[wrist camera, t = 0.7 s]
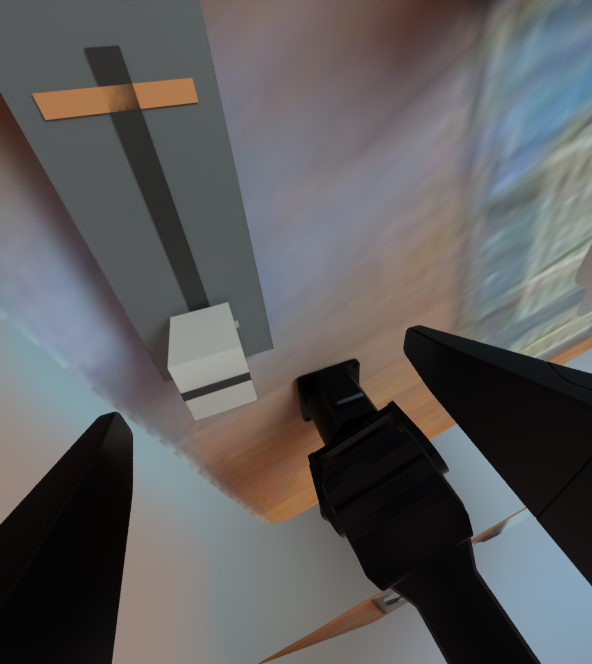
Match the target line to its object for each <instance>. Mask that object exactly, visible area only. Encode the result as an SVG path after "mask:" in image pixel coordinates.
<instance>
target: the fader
mask: <svg viewBox="0 0 592 664" xmlns="http://www.w3.org/2000/svg"><path fill="white" fill-rule="evenodd" d="M167 369H168V370H169V372H170V374H171V376H172V378H173V380H174V381H175V383H176V385H177V387H178V389H179V391H180V393H181V396H182V398H183V400H184V401H185V402H186V404H187V406H188V407H189V409H190V411H191V413H192V415H193V417H194V419H195V420H196V421H197V420H200V419H203V418H206V417H209V416H212V415H215V414H218V413H221V412H224V411H227V410H230V409H232V408H235V407H238V406H241V405H244V404H247V403H250V402H253V401H256V400H257V396H256V393H255V390H254V386H253V383H252V380H251V376H250V373H249V370H248V366H247V363H246V360H245V356H244V353H243V350H242V346H241V343H240V340H239V336H238V333H237V330H236V326H235V323H234V320H233V316H232V313H231V310H230V306H229V303H228V302H227V303H223V304H220V305H216V306H212V307H208V308H205V309H201V310H197V311H193V312H189V313H186V314H182V315H178V316H174V317H170V334H169V351H168V368H167Z"/></svg>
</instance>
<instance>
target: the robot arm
mask: <svg viewBox="0 0 592 664" xmlns="http://www.w3.org/2000/svg"><path fill="white" fill-rule="evenodd" d="M403 349H404V353H405V355H406V356H407V358H408V359H409V361H410V362H411V364H412V365H413V367H414V368H415V370H416V371H417V373H418V374H419V376H420V377H421V379H422V380H423V382H424V383H425V384H426V386H427V387H428V389H429V390H430V391H431V393H432V394H433V395H434V396H435V397H436V399H437V400H438V401H439V402H440V404H441V405H442V406H443V407H444V408H445V410H446V411H447V412H448V413H449V414H450V416H451V417H452V418H453V419H454V420H455V422H456V423H457V424H458V425H459V426H460V428H461V429H462V430H463V431H464V432H465V433H466V435H467V436H468V437H469V438H470V439H471V441H472V442H473V443H474V444H475V446H476V447H477V448H478V449H479V451H480V452H481V453H482V454H483V455H484V457H485V458H486V459H487V460H488V461H489V463H490V464H491V465H492V466H493V467H494V468H495V470H496V471H497V472H498V473H499V474H500V476H501V477H502V478H503V479H504V480H505V482H506V483H507V484H508V485H509V487H510V488H511V489H512V490H513V491H514V493H515V494H516V495H517V496H518V497H519V499H520V500H521V501H522V502H523V504H524V505H525V506H526V507H527V508H528V510H529V511H530V512H531V513H532V514H533V516H534V517H536V519H537V521H538V522H539V523H540V524H541V525H542V527H543V528H544V529H545V530H546V531H547V533H548V534H549V535H550V536H551V537H552V539H553V540H554V541H555V542H556V544H557V545H558V546H559V547H560V548H561V549H562V551H563V552H564V553H565V554H566V556H567V557H568V558H569V559H570V560H571V562H572V563H573V564H574V565H575V567H576V568H577V569H578V570H579V571H580V573H581V574H582V575H583V576H584V577H585V578H586V580H587V581H588V582H589V583H590V585H591V586H592V374H591V373H587V372H583V371H580V370H576V369H572V368H569V367H565V366H561V365H558V364H555V363H551V362H545V361H544V360H540V359H537V358H533V357H530V356H526V355H523V354H519V353H516V352H512V351H509V350H505V349H502V348H498V347H495V346H491V345H488V344H484V343H481V342H477V341H474V340H470V339H467V338H463V337H460V336H456V335H452V334H449V333H445V332H442V331H438V330H435V329H431V328H428V327H424V326H421V325H417V326H413V327H410V328H408V329H407V330H406V334H405V340H404V347H403ZM359 367H360V363H359V362H358V360H357V359H352V360H349V361H346V362H343V363H340V364H337V365H334V366H331V367H328V368H325V369H322V370H319V371H316V372H313V373H310V374H307V375H304V376H301V377H299V378H298V379H297V386H298V392H299V399H300V405H301V411H302V417H303V419H304V421H305V422H308V421H311V420H313V421H314V424H315V426H316V428H317V430H318V432H319V434H320V436H321V438H322V440H323V442H324V445H325V446H324V447H322V448H321V449H319V450H318V451H316V452H312V453H311V454H309V455H308V459H309V462H310V465H309V467H310V471H311V474H312V478H313V482H314V486H315V489H316V493H317V497H318V500H319V505H320V513H321V516H322V517H323V519H324V520H326V521H329V522H330V523H331V524H332V526H333V528H334V529H335V531H336V532H337V533H338V534H339V535H340V536H341V537H342V538H344V537H347V539H348V541H349V543H350V544H351V546H352V548H353V550H354V552H355V554H356V555H357V557H358V560H359V562H360V564H361V566H362V568H363V570H364V572H365V575H366V576H367V578H368V579H369V580H371V581H372V582H373V583H374V584H375V585H376V586H377V587H378V588H379V589H380V590H382V591H386V590H387V589H389V588H391V589H392V590H393V591H395V592H396V593H398V594H399V595H400V596H401V597H403V598H404V599H406V600H407V601H408V602H410V603H411V604H412V605H414V606H415V607H416V608H417V610H418V612H419V613H420V615H421V616H422V618H423V620H424V622H425V624H426V626H427V627H428V629H429V631H430V633H431V634H432V637H433V638H434V640H435V642H436V644H437V646H438V647H439V649H440V651H441V653H442V655H443V656H444V658H445V660H446V662H447V663H448V664H541V663H540V661H539V660H538V659H537V657H536V656H535V654H534V653H533V651H532V650H531V648H530V647H529V645H528V644H527V643H526V641H525V640H524V638H523V637H522V635H521V634H520V632H519V631H518V629H517V628H516V626H515V625H514V624H513V622H512V621H511V619H510V618H509V616H508V615H507V613H506V612H505V610H504V609H503V607H502V606H501V605H500V603H499V602H498V600H497V599H496V597H495V596H494V594H493V593H492V591H491V590H490V589H489V587H488V586H487V584H486V583H485V581H484V580H483V578H482V577H481V575H480V574H479V572H478V571H477V569H476V565H475V559H474V554H473V548H472V542H471V537H472V536H473V531H472V527H471V523H470V519H469V515H468V513H467V511H466V510H465V507H464V504H463V503H462V501H461V500H460V498H459V497H458V495H457V494H456V493H455V491H454V490H453V489H452V487H451V486H450V484H449V483H448V482H447V480H446V479H445V477H444V476H443V475H444V474H445V473H447V472H449V469H448V467H447V465H446V464H445V462H444V460H443V459H442V457H441V456H440V454H439V453H438V452H437V450H436V449H435V448H434V446H433V445H432V443H431V442H430V441H429V440H428V438H427V437H426V436H425V435H424V434H423V432H422V431H421V430H420V429H419V428H418V427H417V426H416V425H415V424H414V423H413V422H412V421H411V420H410V418H409V417H408V416H407V415H406V414H405V413H404V412H403V411H402V410H401V409H400V408H399V407H398V406H397V405H396V403H395V402H394V401H391V402H390V403H388V405H387V406H385V407H384V408H382V409H381V410H379V411H378V410H377V408H376V407H375V406H374V404H373V403H372V401H371V400H370V399H369V397H368V396H367V395H366V393H365V392H364V391H363V389H362V388H361V387H360V385H359ZM302 381H303V382H302ZM132 492H133V434H132V431H131V429H130V428H129V426H128V425H127V423H126V422H125V420H124V419H123V417H122V416H121V414H120V413H118V412H111V413H108V414H104V415H101V416H100V417H98V418H97V419H96V420H95V422H93V424H92V425H91V426H90V427H89V428H88V429H87V430H86V431H85V432H84V433H83V434H82V436H81V437H80V438H79V439H78V440H77V441H76V442H75V443H74V444H73V445H72V447H71V448H70V449H69V450H68V451H67V452H66V453H65V454H64V455H63V457H62V458H61V459H60V460H59V461H58V462H57V463H56V464H55V465H54V467H52V469H51V470H50V471H49V472H48V473H47V474H46V475H45V476H44V477H43V478H42V480H41V481H40V482H39V483H38V484H37V485H36V486H35V487H34V488H33V489H32V491H31V492H30V493H29V494H28V495H27V496H26V497H25V498H24V499H23V500H22V501H21V502H20V504H19V505H18V506H17V507H16V508H15V509H14V510H13V511H12V513H10V515H9V516H8V517H7V518H6V519H5V520H4V521H3V522H2V523H1V524H0V664H112V657H113V649H114V641H115V633H116V625H117V616H118V609H119V601H120V593H121V584H122V575H123V568H124V559H125V552H126V543H127V535H128V527H129V519H130V511H131V502H132Z"/></svg>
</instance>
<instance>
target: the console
mask: <svg viewBox="0 0 592 664" xmlns="http://www.w3.org/2000/svg"><path fill="white" fill-rule="evenodd" d="M0 93H1V95H2V96H3V98H4V100H5V102H6V103H7V105H8V107H9V109H10V110H11V112H12V114H13V116H14V117H15V119H16V121H17V123H18V124H19V126H20V128H21V130H22V132H23V133H24V135H25V137H26V139H27V140H28V142H29V144H30V146H31V147H32V149H33V151H34V153H35V154H36V156H37V158H38V160H39V161H40V163H41V165H42V167H43V168H44V170H45V172H46V174H47V175H48V177H49V179H50V181H51V182H52V184H53V186H54V188H55V189H56V191H57V193H58V195H59V196H60V198H61V200H62V202H63V204H64V205H65V207H66V209H67V211H68V212H69V214H70V216H71V218H72V219H73V221H74V223H75V225H76V226H77V228H78V230H79V232H80V233H81V235H82V237H83V239H84V240H85V242H86V244H87V246H88V247H89V249H90V251H91V253H92V254H93V256H94V258H95V260H96V261H97V263H98V265H99V267H100V268H101V270H102V272H103V274H104V276H105V277H106V279H107V281H108V283H109V284H110V286H111V288H112V290H113V291H114V293H115V295H116V297H117V298H118V300H119V302H120V304H121V305H122V307H123V309H124V311H125V312H126V314H127V316H128V318H129V319H130V321H131V323H132V325H133V326H134V328H135V330H136V332H137V333H138V335H139V337H140V339H141V340H142V342H143V344H144V346H145V348H146V349H147V351H148V353H149V355H150V356H151V358H152V360H153V362H154V363H155V365H156V367H157V369H158V370H159V372H160V374H161V376H162V377H163V379H164V381H169V380H172V379H173V378H172V376H171V374H170V372H169V370H168V369H167V368H168V351H169V334H170V317H174V316H178V315H182V314H186V313H189V312H193V311H197V310H201V309H205V308H208V307H212V306H216V305H220V304H223V303H227V302H228V303H229V306H230V310H231V313H232V316H233V320H234V323H235V326H236V330H237V333H238V336H239V340H240V343H241V346H242V350H243V353H244V356H245V357H247V356H250V355H253V354H257V353H260V352H263V351H266V350H270V349H273V343H272V338H271V334H270V329H269V324H268V319H267V315H266V310H265V305H264V301H263V296H262V291H261V287H260V282H259V277H258V272H257V268H256V263H255V258H254V254H253V249H252V244H251V240H250V235H249V230H248V225H247V221H246V216H245V211H244V207H243V202H242V197H241V193H240V188H239V183H238V178H237V174H236V169H235V164H234V160H233V155H232V150H231V146H230V141H229V136H228V131H227V127H226V122H225V117H224V113H223V108H222V103H221V99H220V94H219V89H218V84H217V80H216V75H215V70H214V66H213V61H212V56H211V51H210V47H209V42H208V37H207V33H206V28H205V23H204V19H203V14H202V9H201V4H200V0H0Z"/></svg>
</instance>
